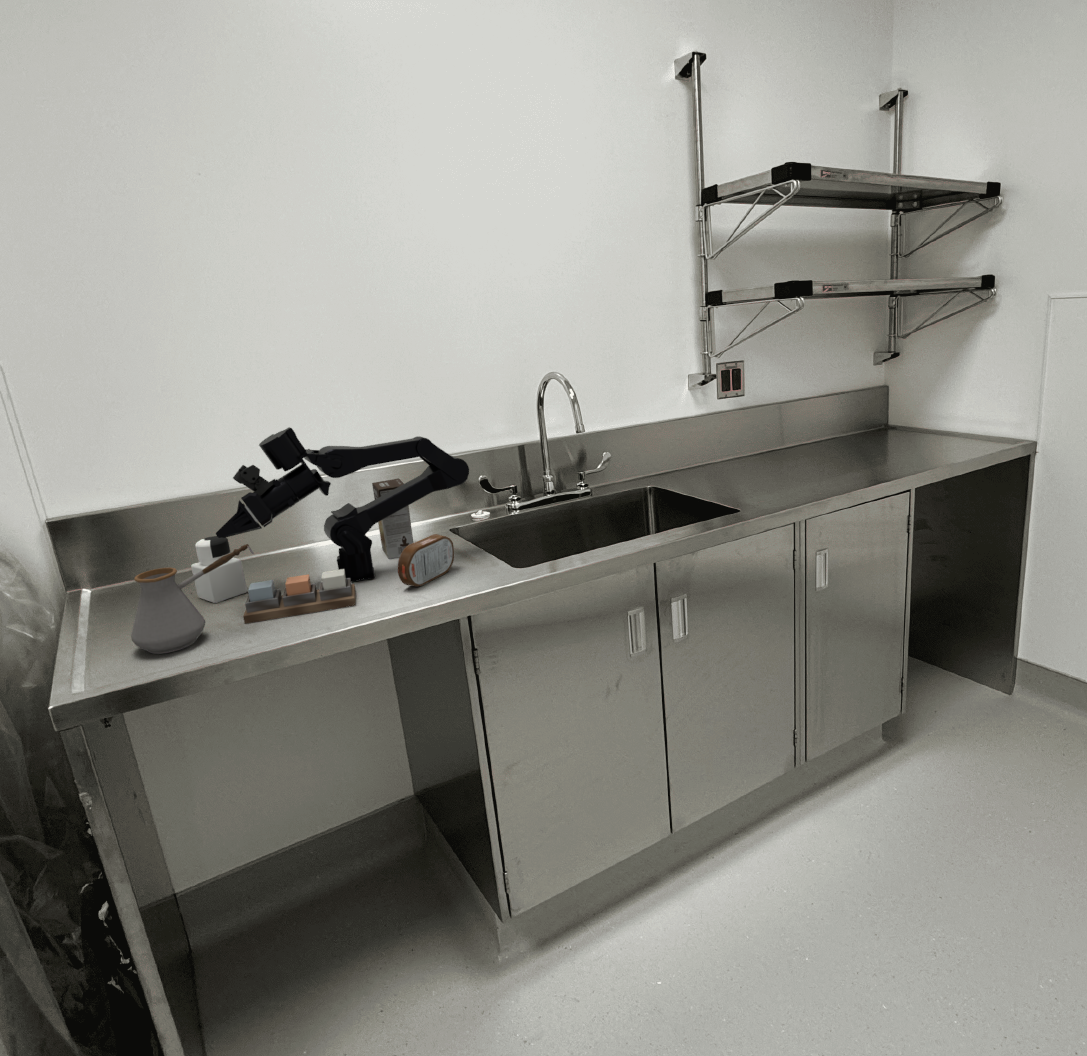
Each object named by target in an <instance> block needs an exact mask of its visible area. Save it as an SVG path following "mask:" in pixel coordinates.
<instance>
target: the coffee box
mask: <svg viewBox="0 0 1087 1056" xmlns="http://www.w3.org/2000/svg"><path fill="white" fill-rule="evenodd" d="M371 484H372V491H373V496H374V497H373V498H374V500H375V499H377V498H379V497H381V496H383V495H385V494H386V493H388V492H390V491H392V490H394V489H396V488H398V487H399V486H401V485H403V484H405V483H404V481H402V480H401V479H400V478H393V479H388V480H380V481H375V482H372V483H371ZM409 506H410V505H408V506H406V507H405V508H403V509H401V510H399V511H397V512H396V513H394V514H392V515H390V516H388V517H386V518H385V519H383V520H381V521H379V522H377V523H378V524H377V525H378V530H379V537H380V543H381V544H380V545H381V548H382V551H383V552H384V554H385V555H386V557H387V559H389V560H391V559H397V558H400V555H401V553H402V552H403V550H404V549H405V548H406V547H407V546H408V545H410V544H412V543H415V541H414V537H413V528H412V523H411V513H410V507H409Z"/></svg>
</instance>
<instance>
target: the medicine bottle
mask: <svg viewBox="0 0 1087 1056" xmlns="http://www.w3.org/2000/svg"><path fill="white" fill-rule="evenodd" d="M194 546H195V551H196V555H197V560H198V562H195V563H192V564H191V566H190V568H191V572H192V576H193V575H195V574H197V573H199V572H200V571H202V570H203V569H204V568H206V567H207V566H209V565H210V564H212V563H213V562H215V561H216V560H218V559H219V558H221V557H222V556H225V555H227V554H229V553H232V552H231V548H230V543H229V539H228V537H226V538H218V537H217V535H214V536H212V535H211V536H207V537H204V538H202V539H199V540H198V541H197V542H195V545H194ZM245 576H246V575H245V573H244V567H243V563H242V559H240V558H236V557H233V558H232V559H230V560H229V561H228V562H227V563H225V564H223V565H221V566H219V567H218V568H216V569H214V570H212V571H210V572H208V573H206V574H204V575H202V576H201V577H199V578H198V579H196V580H194V581H193V582H194V585H195V591H196V594H197V598H200V599H202V600H204V601H207V602H211V603H214V604H217V603H221V602H222V601H226V600H229V599H232V598H234V597H238V596H240V595H243V594H245V593H247V592H248V587H247V582H246V577H245Z"/></svg>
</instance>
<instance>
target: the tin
mask: <svg viewBox="0 0 1087 1056" xmlns="http://www.w3.org/2000/svg"><path fill="white" fill-rule="evenodd" d="M454 560H455V548H454V542H453V540H452V539H451V538H450V537H449V536H445V535H441V534H439V533H433V534H431V535H428V536H426V537H424V538H423V539H420V540H417V541H414V543H412V544H410V545H408V546H407V547H406V548H405V549H404V550H403V552H402V553H401V555H400V557H398V561H397V574H398V578H399V581H400V582H401V584H402V583H403V584H404V585H405V586H410V587H411V586H412V587H419V588H420V587H422V586H424V585H427V584H428V583H430V582H433V581H434V580H436V579H438V578H441V577H442V576H444V575H446V574H447V573H448V572H449V571H450V570H451V568H452V566H453V564H454Z"/></svg>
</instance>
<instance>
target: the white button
mask: <svg viewBox="0 0 1087 1056" xmlns="http://www.w3.org/2000/svg"><path fill="white" fill-rule="evenodd" d="M321 580H322V581H321V582H323V588H324V590H329V589H335V588H341V587H347V582H346V576H345V570H344V569H340V570H338V569H335V570H328V571H323V572H322V575H321Z"/></svg>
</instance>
